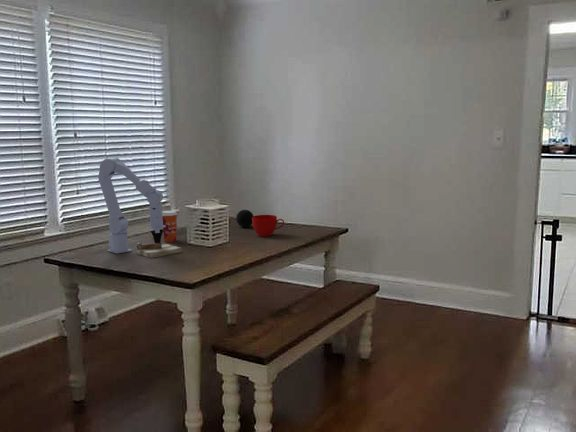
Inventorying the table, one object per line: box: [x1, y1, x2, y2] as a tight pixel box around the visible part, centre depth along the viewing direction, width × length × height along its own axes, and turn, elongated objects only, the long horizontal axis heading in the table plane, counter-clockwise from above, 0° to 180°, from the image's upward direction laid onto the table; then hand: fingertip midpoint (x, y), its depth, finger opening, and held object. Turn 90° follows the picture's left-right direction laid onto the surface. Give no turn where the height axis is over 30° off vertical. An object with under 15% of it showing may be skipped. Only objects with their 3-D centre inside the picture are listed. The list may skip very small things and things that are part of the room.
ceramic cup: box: [252, 214, 285, 237], centre depth 315 cm, size 13×17×10 cm
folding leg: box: [136, 242, 162, 249], centre depth 279 cm, size 11×2×3 cm, turn 106°
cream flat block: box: [134, 243, 182, 259], centre depth 279 cm, size 14×16×2 cm
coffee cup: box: [162, 210, 178, 243], centre depth 305 cm, size 8×8×15 cm
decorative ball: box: [235, 209, 254, 228], centre depth 340 cm, size 10×10×10 cm
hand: (157, 245), depth 281 cm, fingers closed, pressing on folding leg
